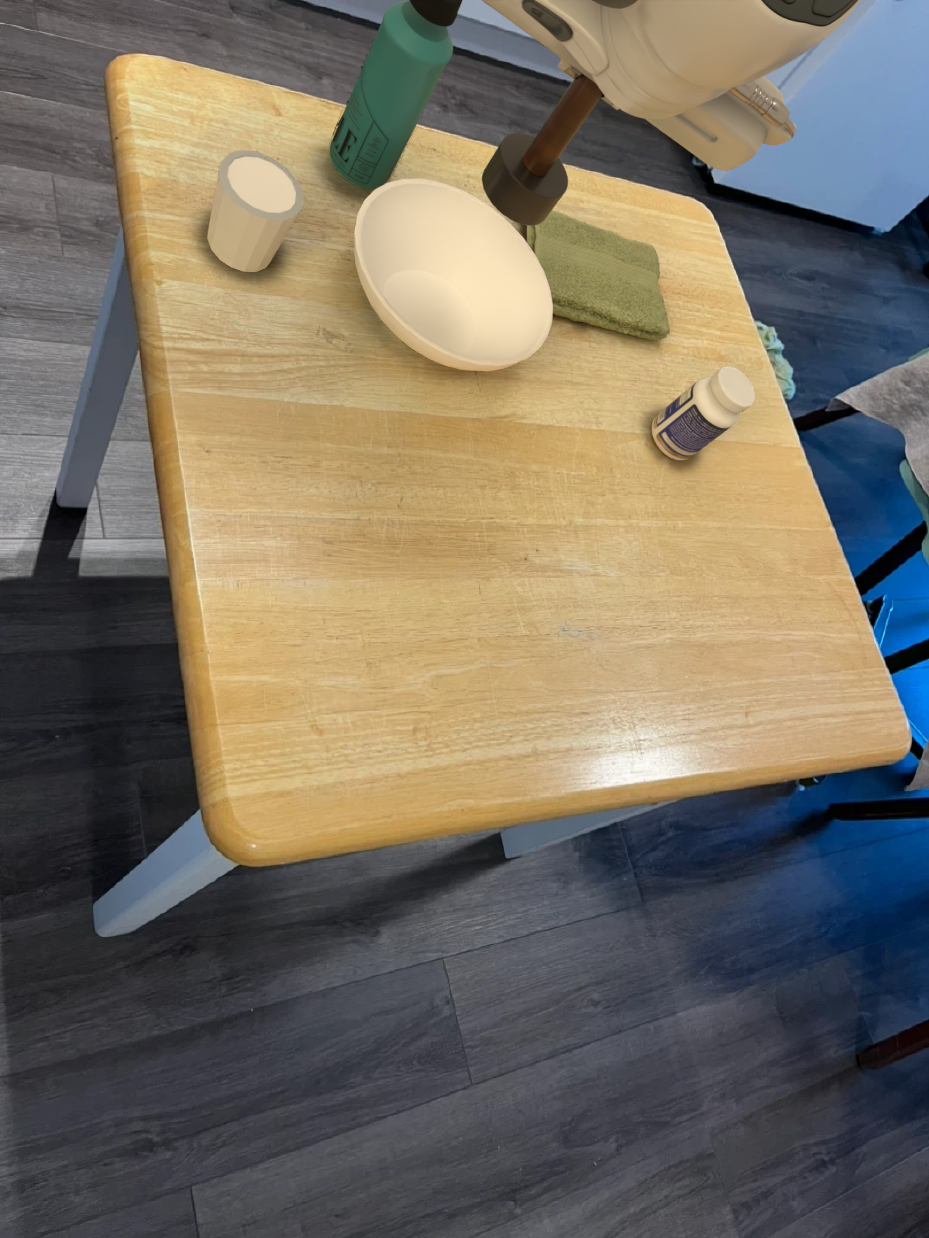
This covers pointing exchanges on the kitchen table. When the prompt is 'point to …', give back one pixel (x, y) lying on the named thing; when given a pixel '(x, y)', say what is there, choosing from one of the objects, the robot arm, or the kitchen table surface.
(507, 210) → the paper towel holder
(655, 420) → the pill bottle
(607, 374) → the kitchen table surface
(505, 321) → the bowl
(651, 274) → the washcloth
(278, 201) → the shot glass
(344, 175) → the beverage bottle
